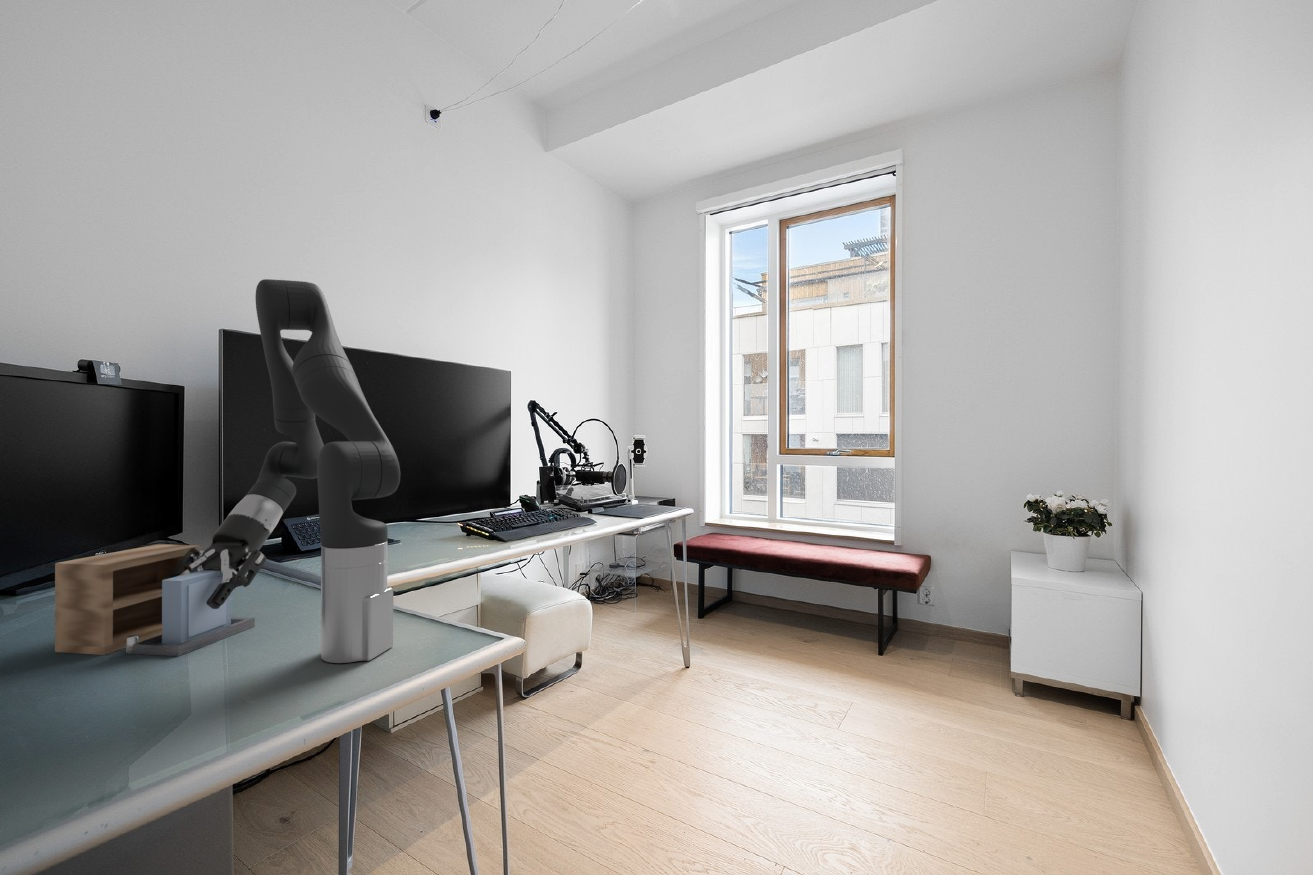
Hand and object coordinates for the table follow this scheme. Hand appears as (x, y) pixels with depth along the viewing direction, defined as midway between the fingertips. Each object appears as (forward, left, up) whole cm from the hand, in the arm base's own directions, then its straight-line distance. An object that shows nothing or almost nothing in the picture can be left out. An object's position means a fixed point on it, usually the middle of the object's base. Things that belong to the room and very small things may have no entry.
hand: (190, 605), depth 93 cm
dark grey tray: (0, -1, -6) cm, 6 cm away
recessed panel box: (0, -2, -6) cm, 6 cm away
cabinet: (+13, -1, -6) cm, 14 cm away
